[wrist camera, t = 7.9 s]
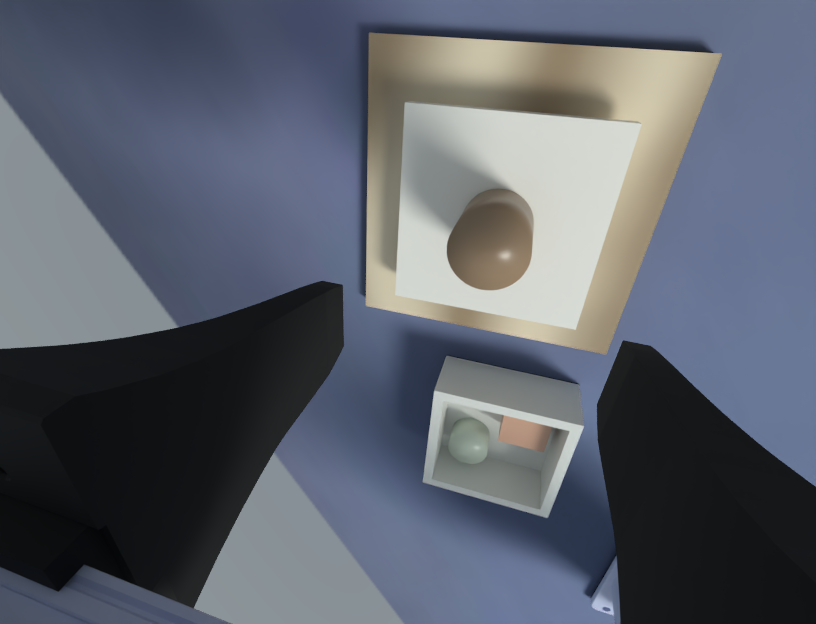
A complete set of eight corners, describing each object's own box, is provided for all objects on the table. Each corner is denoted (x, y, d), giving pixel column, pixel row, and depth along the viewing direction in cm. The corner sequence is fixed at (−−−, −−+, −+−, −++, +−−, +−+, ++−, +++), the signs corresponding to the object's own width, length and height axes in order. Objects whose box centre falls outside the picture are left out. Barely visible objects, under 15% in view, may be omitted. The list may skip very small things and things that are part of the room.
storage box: (579, 384, 21) (584, 426, 19) (547, 473, 25) (547, 518, 22) (446, 355, 23) (434, 390, 20) (434, 443, 26) (422, 482, 24)
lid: (633, 119, 15) (664, 135, 11) (573, 311, 19) (581, 372, 15) (415, 99, 16) (376, 108, 13) (404, 280, 21) (372, 328, 17)
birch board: (715, 54, 14) (722, 53, 13) (604, 347, 20) (606, 354, 19) (374, 33, 16) (369, 32, 16) (369, 300, 22) (365, 305, 22)
